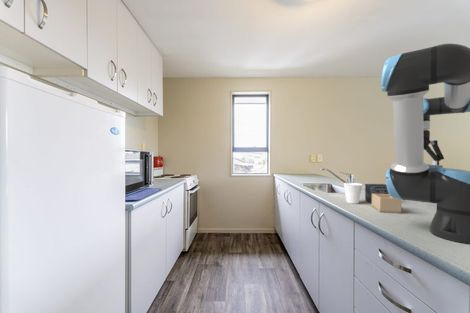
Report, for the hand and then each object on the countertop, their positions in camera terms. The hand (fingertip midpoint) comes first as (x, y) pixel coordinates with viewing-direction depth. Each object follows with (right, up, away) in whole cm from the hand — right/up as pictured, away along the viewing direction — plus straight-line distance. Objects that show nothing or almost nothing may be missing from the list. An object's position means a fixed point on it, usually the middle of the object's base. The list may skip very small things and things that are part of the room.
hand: (419, 173), depth 114 cm
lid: (0, 0, 0) cm, 0 cm away
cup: (-25, -18, +17) cm, 35 cm away
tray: (-16, -18, +1) cm, 24 cm away
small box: (-9, -18, +19) cm, 28 cm away
